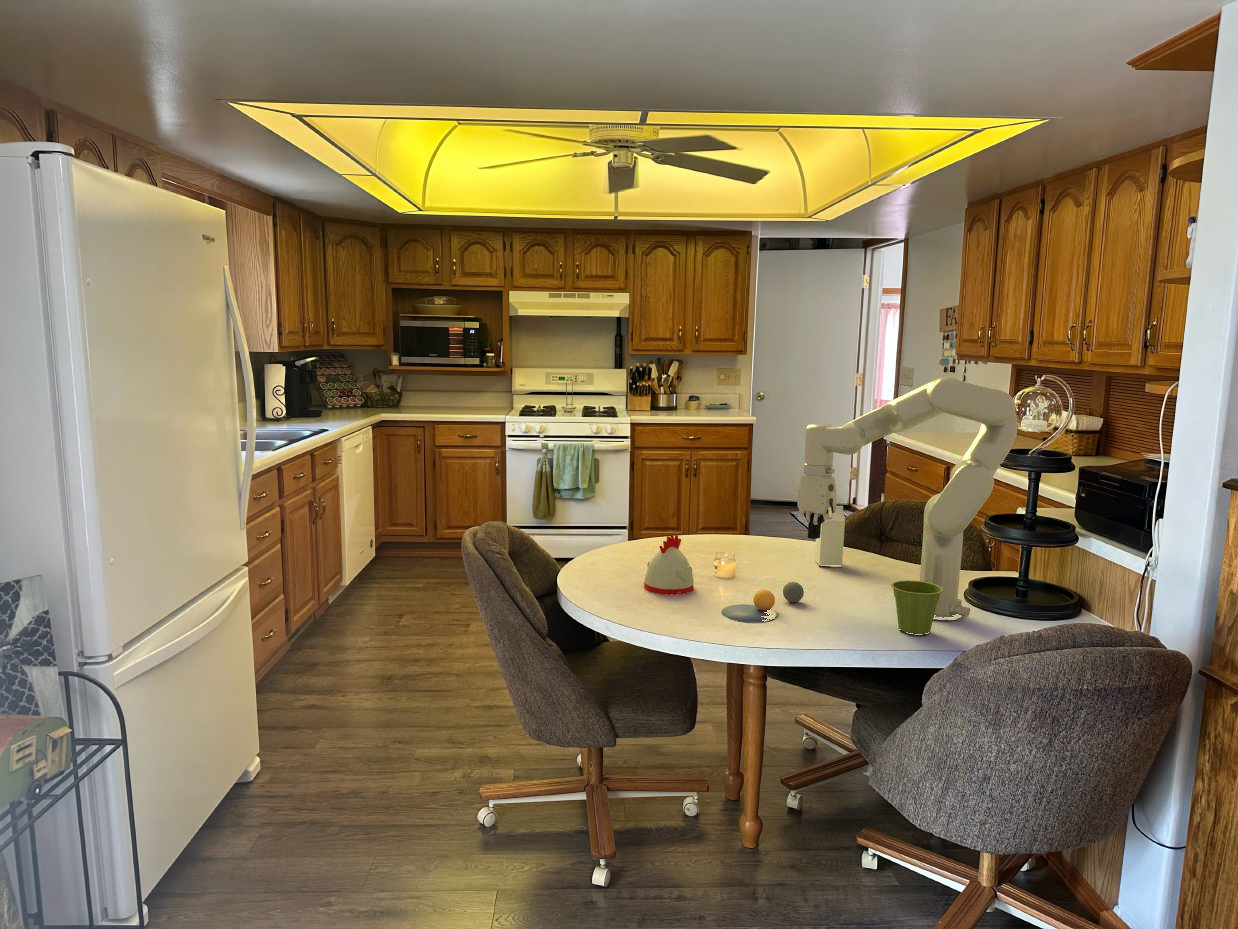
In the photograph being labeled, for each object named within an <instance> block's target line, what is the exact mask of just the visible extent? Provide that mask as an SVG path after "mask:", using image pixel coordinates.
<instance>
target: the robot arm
mask: <svg viewBox="0 0 1238 929" xmlns="http://www.w3.org/2000/svg"><path fill="white" fill-rule="evenodd" d="M943 414H947V415H951V416H953V417H957V418H962V419H965V420H969V421H974V422H977V423H980V427H979V430H978V433H977V435H976V436H975V437H974V439H973V440H972V441H971V443H970V446H969V447H968V448H967V450H966V451H965V452H964V454H963V455H962V457H961V458H960V459H959V461H958V462H957V463H956V464H955V465H954V467H953V468H952V470H951V471H950V474H949V476H950V479H949V481H948V482H947V484H946V485H945V486H944V488H943V489H942V491H941V492H939V493H937V494H935V495H932V497H930V498H929V499H928V500H927V502H926V504H925V507H924V513H923V532H922V533H923V534H922V547H921V559H920V560H921V561H920V571H919V572H920V573H919V581H923V582H928V583H932V584H936V585H938V586H940V587H942V588H943V592H942V593H940V596H939V600H938V602H937V605H936V609H935V613H934V615H936V616H935V617H942V618H944V617H954V616H952V615H956V614H959V615H961V616H963V617H964V618H968V617H969V616H970V613H971V607H967V606H963V605H962V601H963V600H962V599H959V590H960V588H959V586H960V576H961V575H960V574H961V564H962V554H963V543H964V541H963V540H964V531H965V530H966V529H967V528H968V527H969V525H970V524H971V523H972V521H973V519H975V516H976V515H977V514H978V513H979V511H980V510H981V509H982V507H983V505H984V504H985V503H986V502H987V500H988V499H989V497H990V496H991V494H992V492H993V489H994V486H995V478H994V477H995V476H994V475H995V474H996V473H997V472H998V470H999V468H1000V466H1001V465H1002V464H1003V463H1004V461H1005V459H1006V457H1007V456H1008V455H1009V453H1010V451H1011V450H1012V448H1013V445H1014V444H1015V441H1016V438H1017V435H1018V418H1017V413H1016V403H1015V400H1014V399H1013V397H1012V396H1011V395H1010V394H1009V393H1007V392H1006V391H1004V390H1001V389H998V388H989V387H986V386H981V385H978V384H974V383H970V382H966V381H962V380H959V379H956V378H954V377H950V376H942V377H939V378H935V379H934V380H932V381H930V382H927V383H925V384H923V385H922V386H919V387H917V388H915V389H913V390H911V391H909V392H907V393H904V394H903V395H901V396H899V397H896V398H894V399H892V400H890V401H889V402H887V403H885V404H884V405H882V406H879V407H878V408H876V409H873V410H872V411H870V412H868V413H866V414H864V415H861V416H860V417H857V418H855V419H853V420H851V421H849V422H847V423H844V424H843V425H841V426H832V425H831V424H826V423H810V424H808V425H807V426H806V427H805V434H804V449H803V451H804V452H803V453H804V454H803V467H802V468H803V469H802V470H803V471H802V474H801V477H800V479H799V480H800V481H799V485H798V491H797V508H798V513H799V514H801V515H803V516H804V518H805V519H806V520H805V521H806V523H807V538H808V539H810V540H816V539H817V538H820V533H821V524H823V522H824V521H825V520H830V519H832V513H835V512H836V506H837V486H836V479H835V477H834V476H833V475H834V474H835V471H836V470H835V468H834V466H833V464H834V453H835V454H841V455H848V456H849V455H850V456H851V455H855V454H858V453H859V452H860V451H861V450H862V448H863V447H865V446H867V445H868V444H871V443H873V442H875V441H877V440H879V439H881V438H884V437H886V436H889V435H891V434H892V435H893V434H897V433H902V432H905V431H909V430H911V429H913V428H915V427H917V426H919V425H921V424H924V423H926V422H929V420H932V419H934V418H936V417H938V416H942V415H943ZM1000 464H1001V465H1000Z"/></svg>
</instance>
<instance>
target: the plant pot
mask: <svg viewBox="0 0 1238 929" xmlns="http://www.w3.org/2000/svg"><path fill="white" fill-rule="evenodd" d="M890 586H891V587H892V589H893V596H894V599H895V607H896V616H897V625H898V626H897V627H898V630H899V629H901V630H902V631H901V632H903V631H905V632H908V633H913V634H924V635H926V634H925V633H928V632H930V633H931V629H932V625H933V621H934V620H933V618H934V613H935V609H936V605H937V602H938V600H939V596H940V593H942V592H943V588H942V587H940V586H938V585H936V584H932V583H928V582H923V581H920V580H896V581H893V582H891V584H890Z"/></svg>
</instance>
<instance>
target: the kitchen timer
mask: <svg viewBox="0 0 1238 929" xmlns="http://www.w3.org/2000/svg"><path fill="white" fill-rule="evenodd" d="M662 543H663V545H659V551H657V552H656V553H655V554H654V555H653V557H652V558H651V560H650V561H648V562H647V570H646V572H645V575H644V576H645V577H644V583H643V584H644V585H643V588H644V589H645V590H646V591H648V592H651V593H653V592H654V594H657V593H659V595H665V594H667V596H670V594H674V595H673V596H677V595H676V594H679V595H685V594H688V593H687V592H689V593H692V592H693V590H694V577H693V568H692V566H691V565H690V563H689V560H688V559H687V557H686V556H685V555H684V553H683V552H682V551H681V550H679V548H680V545H681V543H682V538H680V537H679V535H677V534H675V535H670V536H669V535H666V540H662ZM684 593H685V594H684Z"/></svg>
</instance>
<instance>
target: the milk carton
mask: <svg viewBox="0 0 1238 929" xmlns="http://www.w3.org/2000/svg"><path fill="white" fill-rule="evenodd" d="M845 523H846V518H845V514H844V506H843V505H836V512H835V513H832V519H830V520H825V521H824V522H823V524H821V533H820V538H817V539H815V544H814V545H815V547H814V561H815V560H816V562H817V563H818V564H819V565H842V566H843V560H844V558H843V557H844V545H845V544H844V543H845V542H844V541H845V525H846V524H845ZM816 562H815V563H816ZM817 563H816V564H817Z"/></svg>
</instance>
